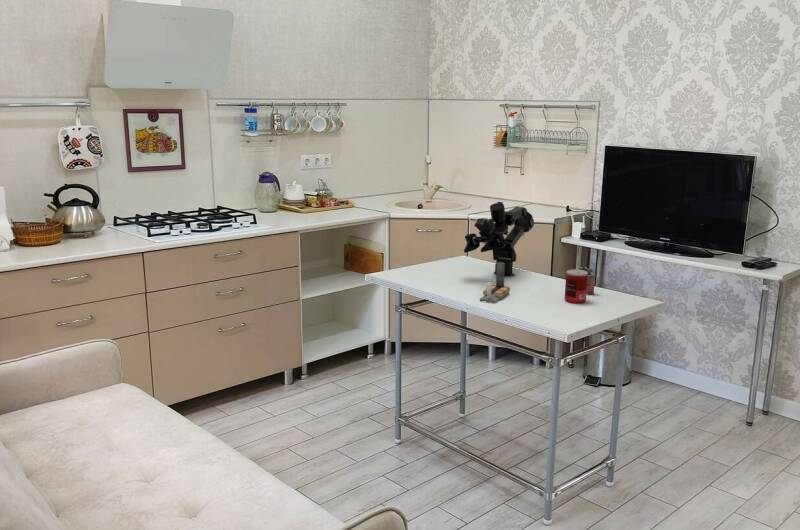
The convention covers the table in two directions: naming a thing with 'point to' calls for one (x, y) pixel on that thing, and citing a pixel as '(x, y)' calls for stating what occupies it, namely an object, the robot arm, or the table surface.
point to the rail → (491, 295)
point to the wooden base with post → (499, 282)
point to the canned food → (576, 286)
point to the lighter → (589, 280)
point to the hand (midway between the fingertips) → (472, 251)
